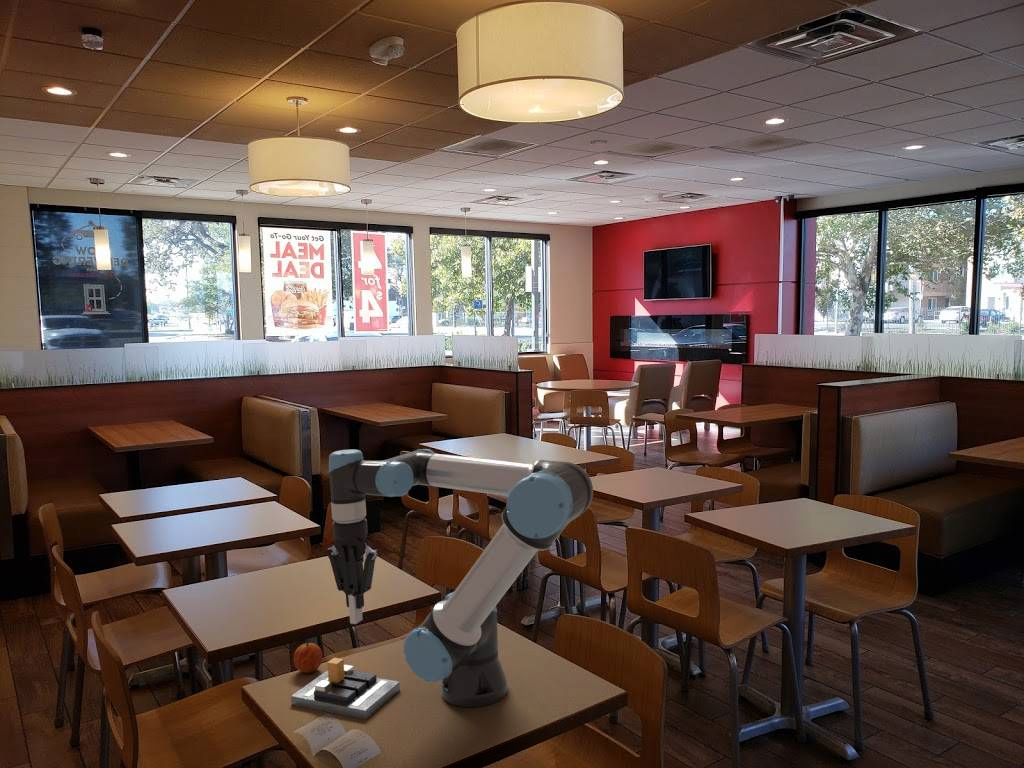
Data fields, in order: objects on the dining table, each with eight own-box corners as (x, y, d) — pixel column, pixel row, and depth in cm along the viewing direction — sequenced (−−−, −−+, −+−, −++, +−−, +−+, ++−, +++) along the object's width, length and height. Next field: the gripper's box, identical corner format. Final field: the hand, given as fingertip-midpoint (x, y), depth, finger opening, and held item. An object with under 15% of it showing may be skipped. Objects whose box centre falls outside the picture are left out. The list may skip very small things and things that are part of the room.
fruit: (295, 667, 190) (293, 636, 189) (323, 663, 191) (321, 633, 191) (293, 679, 183) (291, 647, 182) (322, 675, 184) (321, 644, 184)
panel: (399, 689, 175) (398, 670, 175) (365, 719, 163) (364, 698, 162) (329, 677, 183) (328, 658, 183) (291, 704, 171) (290, 684, 170)
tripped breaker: (344, 677, 174) (343, 659, 174) (337, 682, 172) (336, 663, 172) (335, 676, 175) (334, 657, 175) (328, 681, 173) (327, 662, 173)
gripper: (383, 516, 169) (389, 618, 171) (335, 513, 174) (342, 612, 176) (364, 524, 162) (371, 631, 164) (315, 521, 168) (322, 624, 169)
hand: (356, 621), depth 170 cm, fingers closed
